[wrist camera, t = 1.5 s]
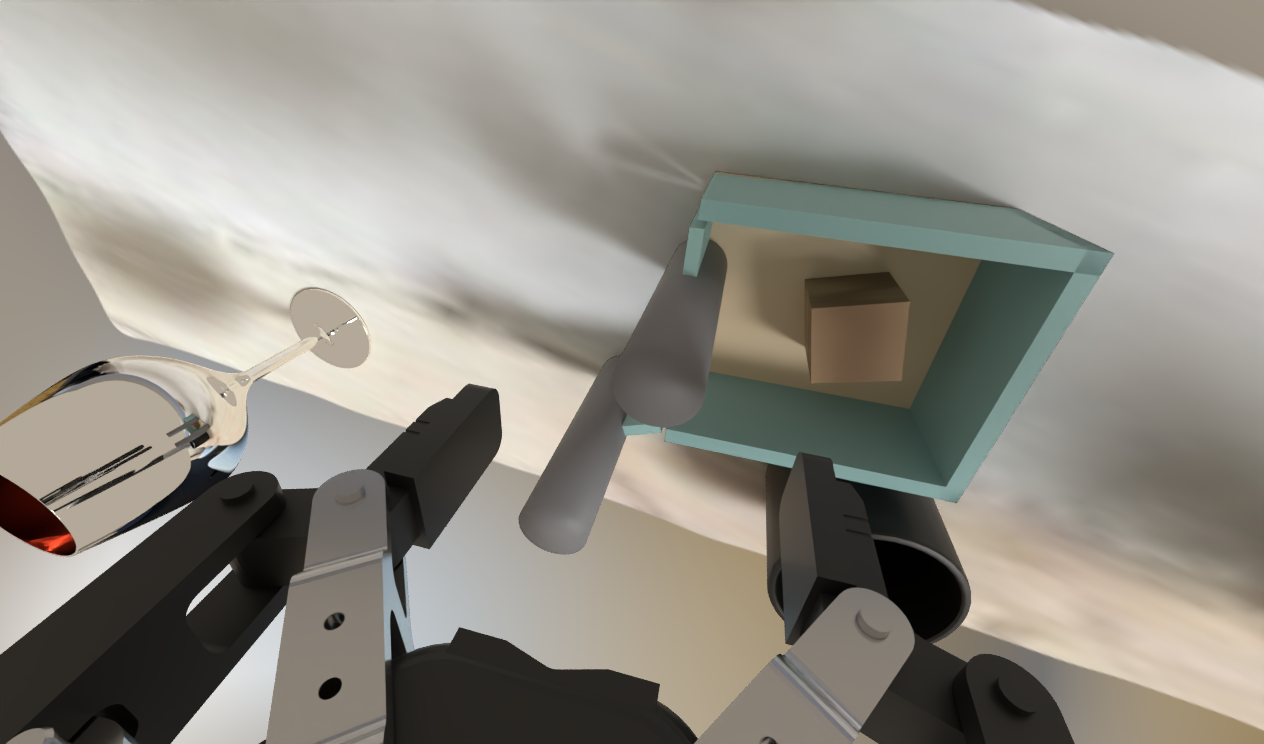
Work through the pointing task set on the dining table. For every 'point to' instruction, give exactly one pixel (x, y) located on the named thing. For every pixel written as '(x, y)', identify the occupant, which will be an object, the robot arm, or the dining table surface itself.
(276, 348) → the dining table surface
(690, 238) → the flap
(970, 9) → the dining table surface
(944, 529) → the mug
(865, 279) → the walnut block
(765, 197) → the teal open box
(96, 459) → the wineglass
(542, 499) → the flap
